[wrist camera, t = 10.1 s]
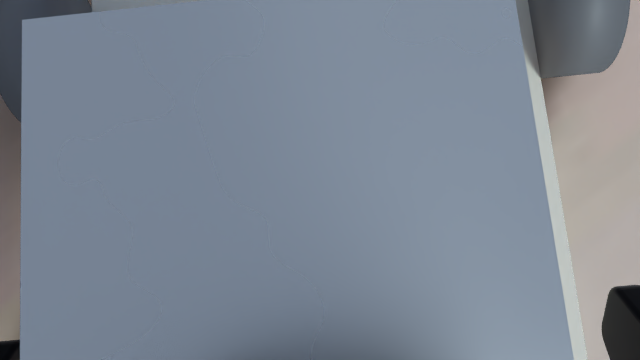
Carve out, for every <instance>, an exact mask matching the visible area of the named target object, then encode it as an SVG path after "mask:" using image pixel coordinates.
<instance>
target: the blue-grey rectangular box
mask: <svg viewBox="0 0 640 360" xmlns="http://www.w3.org/2000/svg"><path fill="white" fill-rule="evenodd" d="M20 360H574V357H573V350H572V344H571V338H570V332H569V326H568V320H567V314H566V307H565V301H564V295H563V289H562V283H561V277H560V271H559V265H558V258H557V252H556V246H555V240H554V234H553V228H552V222H551V215H550V209H549V203H548V197H547V191H546V185H545V179H544V172H543V166H542V160H541V154H540V148H539V142H538V136H537V129H536V123H535V117H534V111H533V105H532V99H531V93H530V87H529V80H528V74H527V68H526V62H525V56H524V50H523V44H522V37H521V31H520V25H519V19H518V13H517V7H516V1H515V0H202V1H192V2H183V3H174V4H164V5H155V6H146V7H137V8H127V9H118V10H109V11H100V12H90V13H81V14H72V15H62V16H53V17H44V18H35V19H25V20H22V101H21V262H20Z"/></svg>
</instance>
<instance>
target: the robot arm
mask: <svg viewBox="0 0 640 360" xmlns="http://www.w3.org/2000/svg"><path fill="white" fill-rule="evenodd" d="M602 336H603V340H604V343H605V346H606V349H607V352H608V355H609V357H610V360H640V285H629V286H617V287H614V288H612V289H611V290H610V292H609V294H608V299H607V303H606V308H605V312H604V317H603V321H602ZM0 360H20V340H11V341H0Z"/></svg>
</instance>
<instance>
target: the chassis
mask: <svg viewBox="0 0 640 360" xmlns="http://www.w3.org/2000/svg"><path fill="white" fill-rule="evenodd" d="M192 1H202V0H92V8H91V6H90V4H89V2H88V0H0V93H1V96H2V98H3V99H4V101H5V103H6V105H7V106H8V108H9V109H10V111H11V112H12V113H13V115H14V116H15V117H16V118H17V119H18V120H19V121H20V122H21V101H22V20H25V19H35V18H44V17H53V16H62V15H72V14H81V13H90V12H100V11H109V10H118V9H127V8H137V7H146V6H155V5H164V4H174V3H183V2H192ZM515 1H516V7H517V13H518V19H519V25H520V31H521V37H522V44H523V50H524V56H525V62H526V68H527V74H528V80H529V87H530V93H531V99H532V105H533V111H534V117H535V123H536V129H537V136H538V142H539V148H540V154H541V160H542V166H543V172H544V179H545V185H546V191H547V197H548V203H549V209H550V215H551V222H552V228H553V234H554V240H555V246H556V252H557V258H558V265H559V271H560V277H561V283H562V289H563V295H564V301H565V307H566V314H567V320H568V326H569V332H570V338H571V344H572V350H573V357H574V360H588V358H587V352H586V346H585V340H584V334H583V328H582V322H581V316H580V310H579V304H578V298H577V292H576V286H575V280H574V275H573V269H572V263H571V257H570V251H569V245H568V239H567V233H566V227H565V221H564V215H563V209H562V203H561V197H560V191H559V185H558V179H557V173H556V167H555V161H554V155H553V149H552V143H551V137H550V131H549V125H548V119H547V113H546V107H545V101H544V95H543V89H542V83H541V78H551V77H561V76H571V75H581V74H591V73H600V72H602V71H604V70H606V69H607V68H608V67H609V66H610V65H611V64H612V63H613V61H614V60H615V58H616V56H617V55H618V53H619V50H620V48H621V45H622V43H623V40H624V36H625V33H626V28H627V24H628V17H629V9H630V0H515Z"/></svg>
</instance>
